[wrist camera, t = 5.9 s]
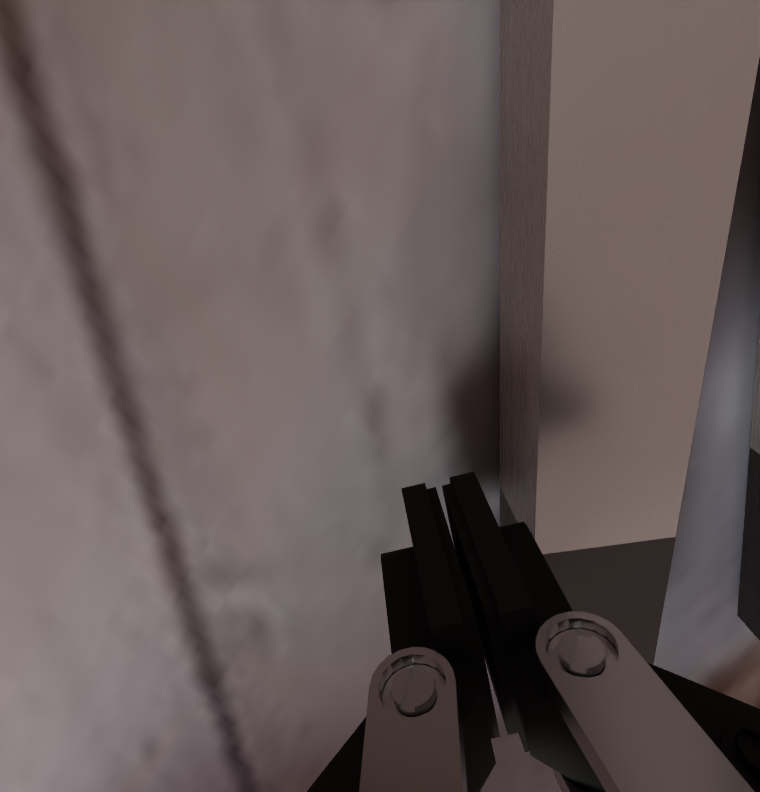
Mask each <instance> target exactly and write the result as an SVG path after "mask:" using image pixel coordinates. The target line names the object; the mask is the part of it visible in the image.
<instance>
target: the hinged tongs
mask: <svg viewBox="0 0 760 792" xmlns="http://www.w3.org/2000/svg"><path fill="white" fill-rule="evenodd" d="M738 616H739V618H740V619H741V620H742V621H743V622H744V623H745V624H746V626H747V627H748V628H749V629H750V630H751V631H752V632H753V634H754V635H755V636H756V637H757V638H758V639H759V640H760V317H759V331H758V344H757V358H756V371H755V385H754V398H753V412H752V425H751V439H750V452H749V466H748V479H747V493H746V506H745V520H744V533H743V547H742V560H741V574H740V587H739V601H738Z"/></svg>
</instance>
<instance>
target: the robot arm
mask: <svg viewBox="0 0 760 792" xmlns="http://www.w3.org/2000/svg"><path fill="white" fill-rule="evenodd" d="M442 489H443V494H444V499H445V503H446V508H447V513H448V518H449V523H450V528H451V532H452V537H453V542H454V545H453V542H452V538H451V535H450V532H449V529H448V525H447V522H446V519H445V516H444V513H443V509H442V506H441V503H440V500H439V497H438V493H437V490H436V487H434V488H430V489H426V486H425V483H423V484H418V485H414V486H410V487H405V488H402V494H403V498H404V503H405V508H406V513H407V518H408V523H409V528H410V533H411V538H412V543H413V547H410V548H405V549H401V550H397V551H392V552H388V553H384V554H381V564H382V572H383V581H384V590H385V599H386V608H387V616H388V625H389V634H390V643H391V652H392V654H391V655H389V656H388V657H387V658H386V659H385V660H384V661H383V662H382V663H380V664H379V666H378V667H377V669H376V671H375V672H374V674H373V675H372V679H371V683H370V687H369V695H368V706H367V716H366V718H365V719H364V720H363V722H362V723H361V724H360V725H359V727H358V728H357V729H356V730H355V732H354V733H353V734H352V735H351V737H350V738H349V739H348V740H347V742H346V743H345V744H344V745H343V747H342V748H341V749H340V750H339V752H338V753H337V754H336V756H335V757H334V758H333V759H332V761H331V762H330V763H329V764H328V766H327V767H326V768H325V769H324V771H323V772H322V773H321V774H320V776H319V777H318V778H317V779H316V781H315V782H314V783H313V785H312V786H311V787H310V788H309V790H308V791H307V792H482V790H481V788H482V786H483V785H484V783H485V781H486V779H487V778H488V776H489V774H490V772H491V771H492V769H493V767H494V765H495V764H496V762H495V757H494V752H493V748H492V743H491V738H495V737H500V734H499V729H498V724H497V719H496V714H495V709H494V704H493V699H492V694H491V689H490V684H489V679H488V674H487V669H486V664H487V668H488V671H489V674H490V677H491V681H492V684H493V687H494V691H495V694H496V697H497V701H498V704H499V707H500V710H501V714H502V717H503V720H504V724H505V727H506V730H507V733H508V735H510V734H514V733H519V735H520V738H521V741H522V744H523V747H524V751H525V752H528V751H530V754H531V756H533V757H534V758H536V759H538V760H539V761H541V762H543V763H544V764H546V765H548V766H549V767H551V768H553V771H554V774H555V777H556V780H557V782H558V784H559V786H560V788H561V790H562V792H760V709H758V708H756V707H753V706H751V705H748V704H746V703H744V702H741V701H739V700H736V699H734V698H732V697H729V696H727V695H724V694H722V693H719V692H717V691H715V690H712V689H710V688H707V687H705V686H703V685H700V684H698V683H695V682H693V681H691V680H688V679H686V678H683V677H681V676H679V675H676V674H674V673H671V672H669V671H666V670H664V669H662V668H659V667H657V666H654V665H652V664H650V663H647V662H646V661H645V660H644V659H643V657H642V656H641V655H640V654H639V653H638V651H637V650H636V649H635V648H634V647H633V646H632V644H631V643H630V642H629V641H628V640H627V638H626V637H625V636H624V635H623V634H622V632H621V631H620V630H619V629H618V628H616V627H615V626H614V625H613V624H612V623H611V622H609V621H608V620H606V619H604V618H602V617H600V616H598V615H595V614H591V613H587V612H575V611H573V610H572V608H571V606H570V604H569V603H568V601H567V599H566V597H565V595H564V593H563V591H562V589H561V588H560V586H559V584H558V582H557V580H556V578H555V576H554V575H553V573H552V571H551V569H550V567H549V565H548V563H547V561H546V560H545V558H544V556H543V554H542V552H541V550H540V548H539V547H538V545H537V543H536V541H535V539H534V537H533V535H532V533H531V532H530V530H529V528H528V526H527V525H526V523H525V522H519V523H515V524H510V525H506V526H502V527H499V526H498V524H497V522H496V520H495V517H494V515H493V513H492V511H491V509H490V506H489V504H488V502H487V500H486V498H485V495H484V493H483V491H482V489H481V487H480V484H479V482H478V480H477V478H476V476H475V474H474V472H471V473H466V474H462V475H458V476H453V477H450V484H448V485H443V486H442ZM454 547H455V548H454ZM484 658H485V659H484ZM485 661H486V664H485Z"/></svg>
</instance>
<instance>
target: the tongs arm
mask: <svg viewBox="0 0 760 792" xmlns="http://www.w3.org/2000/svg"><path fill="white" fill-rule="evenodd" d="M759 58H760V0H500V527H502V526H506V525H510V524H515V523H519V522H525V523H526V525H527V526H528V528H529V530H530V532H531V533H532V535H533V537H534V539H535V541H536V543H537V545H538V547H539V548H540V550H541V552H542V554H543V556H544V558H545V560H546V561H547V563H548V565H549V567H550V569H551V571H552V573H553V575H554V576H555V578H556V580H557V582H558V584H559V586H560V588H561V589H562V591H563V593H564V595H565V597H566V599H567V601H568V603H569V604H570V606H571V608H572V610H573V611H575V612H587V613H591V614H595V615H598V616H600V617H602V618H604V619H606V620H608V621H609V622H611V623H612V624H613V625H614V626H615V627H616V628H618V629H619V630H620V631H621V632H622V634H623V635H624V636H625V637H626V638H627V640H628V641H629V642H630V643H631V644H632V646H633V647H634V648H635V649H636V650H637V651H638V653H639V654H640V655H641V656H642V657H643V659H644V660H645V661H646V662H647V663H650V664H652V665H653V663H654V657H655V651H656V645H657V640H658V634H659V628H660V623H661V617H662V611H663V606H664V600H665V594H666V588H667V583H668V577H669V571H670V566H671V560H672V554H673V548H674V543H675V537H676V531H677V526H678V520H679V514H680V509H681V503H682V497H683V491H684V486H685V480H686V474H687V469H688V463H689V457H690V451H691V446H692V440H693V434H694V429H695V423H696V417H697V411H698V406H699V400H700V394H701V389H702V383H703V377H704V372H705V366H706V360H707V354H708V349H709V343H710V337H711V332H712V326H713V320H714V314H715V309H716V303H717V297H718V292H719V286H720V280H721V275H722V269H723V263H724V257H725V252H726V246H727V240H728V235H729V229H730V223H731V217H732V212H733V206H734V200H735V195H736V189H737V183H738V178H739V172H740V166H741V160H742V155H743V149H744V143H745V138H746V132H747V126H748V120H749V115H750V109H751V103H752V98H753V92H754V86H755V80H756V75H757V69H758V63H759Z"/></svg>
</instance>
